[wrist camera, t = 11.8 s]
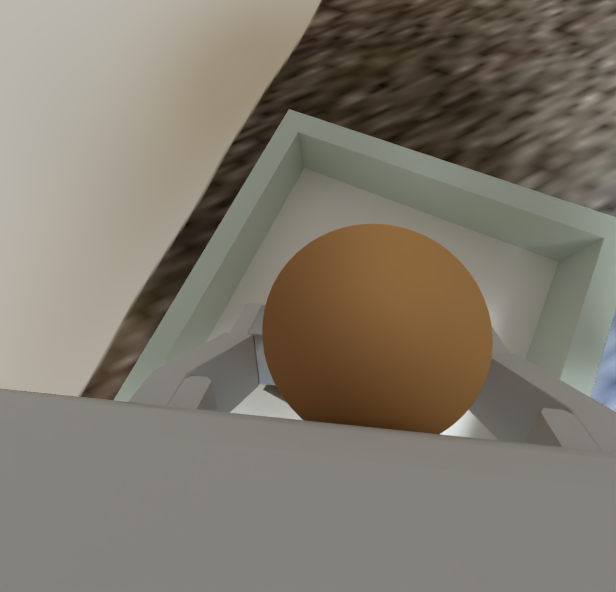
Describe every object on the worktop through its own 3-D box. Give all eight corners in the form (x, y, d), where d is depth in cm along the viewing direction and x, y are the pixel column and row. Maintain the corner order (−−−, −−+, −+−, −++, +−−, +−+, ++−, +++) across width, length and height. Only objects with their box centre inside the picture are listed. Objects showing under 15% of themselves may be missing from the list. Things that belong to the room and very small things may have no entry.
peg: (364, 305, 16) (407, 189, 6) (408, 376, 15) (544, 372, 5) (295, 343, 16) (227, 286, 6) (335, 418, 14) (330, 498, 5)
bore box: (302, 180, 20) (289, 109, 15) (545, 273, 17) (640, 225, 12) (150, 453, 16) (60, 488, 11) (421, 629, 13) (475, 791, 8)
